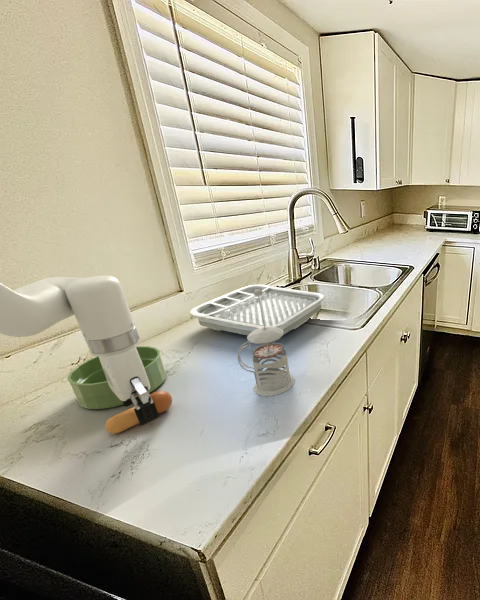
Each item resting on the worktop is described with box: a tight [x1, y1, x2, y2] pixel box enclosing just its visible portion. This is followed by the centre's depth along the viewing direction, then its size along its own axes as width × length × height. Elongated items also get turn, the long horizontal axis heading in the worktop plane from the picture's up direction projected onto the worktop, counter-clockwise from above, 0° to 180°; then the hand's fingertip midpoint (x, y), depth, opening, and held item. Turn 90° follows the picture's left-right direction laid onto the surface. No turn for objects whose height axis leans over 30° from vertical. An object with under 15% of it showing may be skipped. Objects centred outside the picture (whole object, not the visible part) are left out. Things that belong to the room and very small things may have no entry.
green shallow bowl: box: [66, 345, 167, 410], centre depth 79 cm, size 17×17×7 cm
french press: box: [237, 289, 296, 397], centre depth 76 cm, size 10×12×25 cm
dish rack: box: [189, 284, 326, 336], centre depth 114 cm, size 32×37×8 cm
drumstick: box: [104, 390, 173, 434], centre depth 69 cm, size 12×5×5 cm, turn 143°
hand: (141, 411), depth 69 cm, fingers open, 9 cm apart
